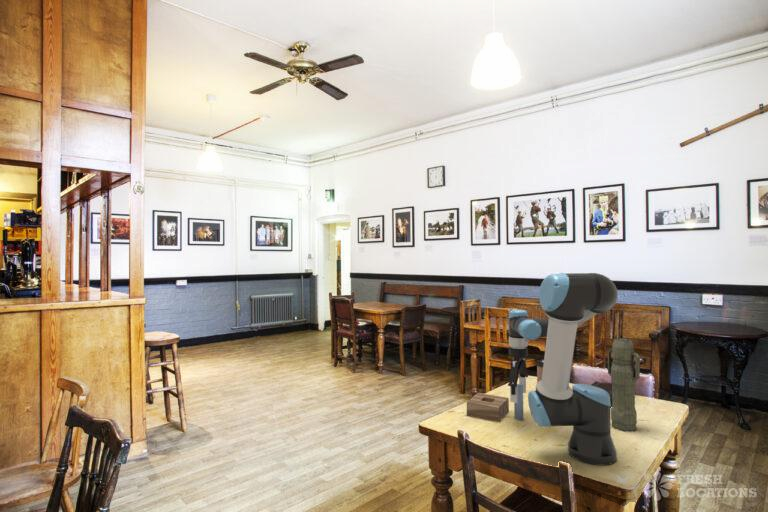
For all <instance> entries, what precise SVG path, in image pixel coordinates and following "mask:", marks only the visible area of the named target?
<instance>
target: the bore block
mask: <svg viewBox="0 0 768 512" xmlns="http://www.w3.org/2000/svg"><path fill="white" fill-rule="evenodd" d="M509 408H510V400H509V397H506V396H500V395H494V394H487V393H481V392H477V393H475V394H474V395H473V396H472V397H470V399H468V400H467V401H466V417H471V418H477V419H483V420H486V421H492V422H497V423H500V422H501V421H502V420H503V419H504V417H505V416H506V415H507V414H508V413H509V411H510V409H509Z"/></svg>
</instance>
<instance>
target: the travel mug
mask: <svg viewBox="0 0 768 512" xmlns="http://www.w3.org/2000/svg"><path fill="white" fill-rule="evenodd" d="M543 365H544V358H541V359H537V360H536V370H537V371H536V384H537V383H538V382H539V381H540V380H542V373H543Z"/></svg>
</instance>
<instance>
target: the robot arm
mask: <svg viewBox="0 0 768 512" xmlns="http://www.w3.org/2000/svg"><path fill="white" fill-rule="evenodd" d="M618 297H619V295H618V288H617V287H616V284H615V283H614V282H613V280H611V279H610V278H609V277H607V276H606V275H604V274H602V273H601V274H600V273H598V272H590V273H589V272H587V273H584V272H582V273H581V272H580V273H577V272H576V273H574V272H573V273H571V272H570V273H566V272H565V273H564V272H561V273H560V272H559V273H552V274H548V275H547V276H546V277H544V279H543V280H542V282H541V284H540V287H539V293H538V298H539V305H540V306H541V308H542V310H544V314H545V315H546V317H547V318H529V314H528V311H527V310H524V309H511V310H509V312H508V346H509V347H508V356H510V357H512V358H513V360H512V361H510V370H509V378H508V379H509V380H508V384H507V386H508V387H510V389H509V391H510V395H509V397H510V400H509V403H510V402H511V403H514V402H515V403H517V402H518V386H517V384H521V385H523V394H526V393H527V378H528V377H529V374H528V368H527V362H526V361H527V360H526V358H527V357H528V355H529V354H528V353H529V352H528V343H529V342H530V341H534V340H535V341H536V340H537V339H538V338H539V339H540V338H542V339H544V338H545V339H546V341H545V349H544V355H543V357H544V358H543V359H544V365H543V373H542V380H540V381H539V382H538V383H537V382H536V387H535V390H533V389H532V390H530V391H528V395H527V401H528V407H529V410H530V415H531V416H532V419H533V421H534V423H536V425H537V426H539V427H549V428H551V427H572V432H571V434H570V438H569V441H568V443H567V453H568V455H570V456H571V457H572V458H574V459H575V460H578V461H580V462H584V463H586V464H590V463H591V465H596V464H608V465H611V464H610V463H612V464H614V463H616V462H615V461H617V459H618V458H617V457H618V456H617V455H618V454H617V450H616V447H615V444H614V441H613V438H612V432H611V429H612V428H611V427H612V425H611V408H610V406H611V403H610V395H609V394H608V392H606V391H605V390H603V389H601V388H598V387H595V386H591V385H592V384H586V383H585V384H584V383H574V384H573V385H572V387H571V386H570V380H571V375H572V374H571V373H572V368H573V358H574V352H575V344H576V336H577V329H578V327H580V325H582V324H584V323H586V322H587V321H589V320H590V319H591V318H593V317H594V316H596V315H600V314H604V313H606V312H607V311H609V310H610V309H612V308H613V307H614V306H615V305H616V303H617V300H618ZM518 380H519V382H518ZM613 462H614V463H613Z"/></svg>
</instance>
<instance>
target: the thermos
mask: <svg viewBox="0 0 768 512" xmlns="http://www.w3.org/2000/svg"><path fill="white" fill-rule="evenodd" d="M611 347H612V348H610V349H608V350H607V353H606V354H607V357H606V358H607V374H608V375H609V376H610V383H612V408H610V421H611V427H612V428H613V429H615V430H617V429H618V431H621V432H626V431H633V432H636V431H637V418H638V416H637V415H638V413H637V409H636V394H635V393H636V389H635V388H636V385H637V380H639V379H640V378H641V375H640V370H641V368H640V367H641V365H640V364H641V357H640V356H639V354H638V353H637V352H635V347H634V343H633V341H632V340H631V339H630V338H626V337H625V338H623V337H617V338H615V339H613V342H612V346H611ZM634 361H635V363H634ZM635 430H636V431H635Z"/></svg>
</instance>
